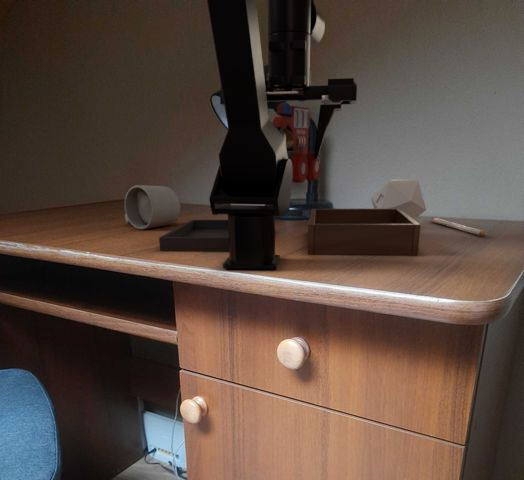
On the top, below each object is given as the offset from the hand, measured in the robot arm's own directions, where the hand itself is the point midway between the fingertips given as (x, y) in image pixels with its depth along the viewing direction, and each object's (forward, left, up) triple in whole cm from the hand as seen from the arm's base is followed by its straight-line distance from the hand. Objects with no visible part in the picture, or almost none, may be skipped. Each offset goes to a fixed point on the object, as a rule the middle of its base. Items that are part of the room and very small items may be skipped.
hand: (288, 159), depth 72 cm
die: (+16, -19, -12) cm, 27 cm away
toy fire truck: (0, 0, -3) cm, 3 cm away
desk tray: (+1, +11, -12) cm, 16 cm away
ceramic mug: (+15, +27, -12) cm, 33 cm away
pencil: (+13, -29, -12) cm, 34 cm away
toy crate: (-1, -11, -12) cm, 16 cm away
